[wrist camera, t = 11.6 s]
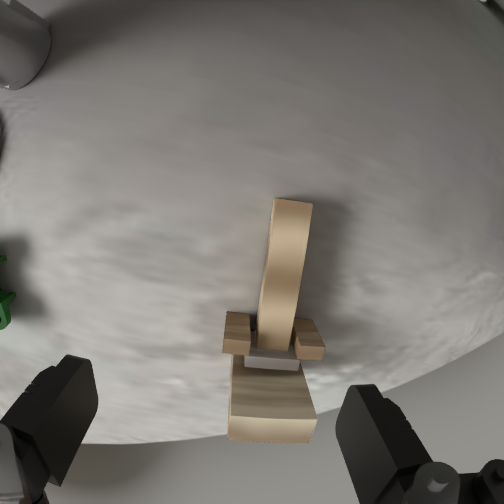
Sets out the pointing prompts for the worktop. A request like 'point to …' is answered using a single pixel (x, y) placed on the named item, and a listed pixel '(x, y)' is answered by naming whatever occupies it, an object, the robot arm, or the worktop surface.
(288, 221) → the light wooden bar
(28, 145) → the worktop surface
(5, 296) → the clamp
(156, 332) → the worktop surface
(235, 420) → the post block
